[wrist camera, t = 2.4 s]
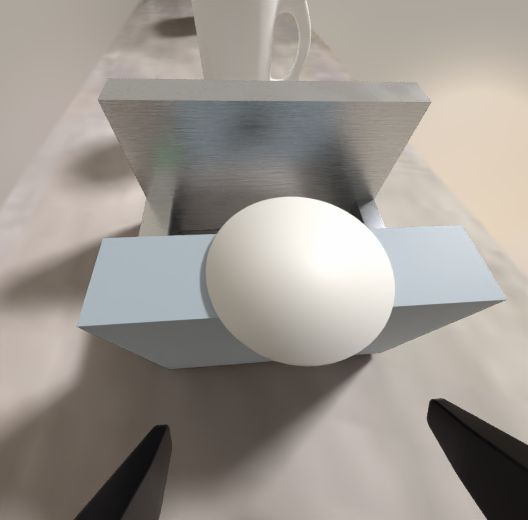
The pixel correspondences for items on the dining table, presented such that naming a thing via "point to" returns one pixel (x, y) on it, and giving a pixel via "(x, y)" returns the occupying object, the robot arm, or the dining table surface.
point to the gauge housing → (258, 144)
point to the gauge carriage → (283, 288)
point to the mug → (246, 37)
